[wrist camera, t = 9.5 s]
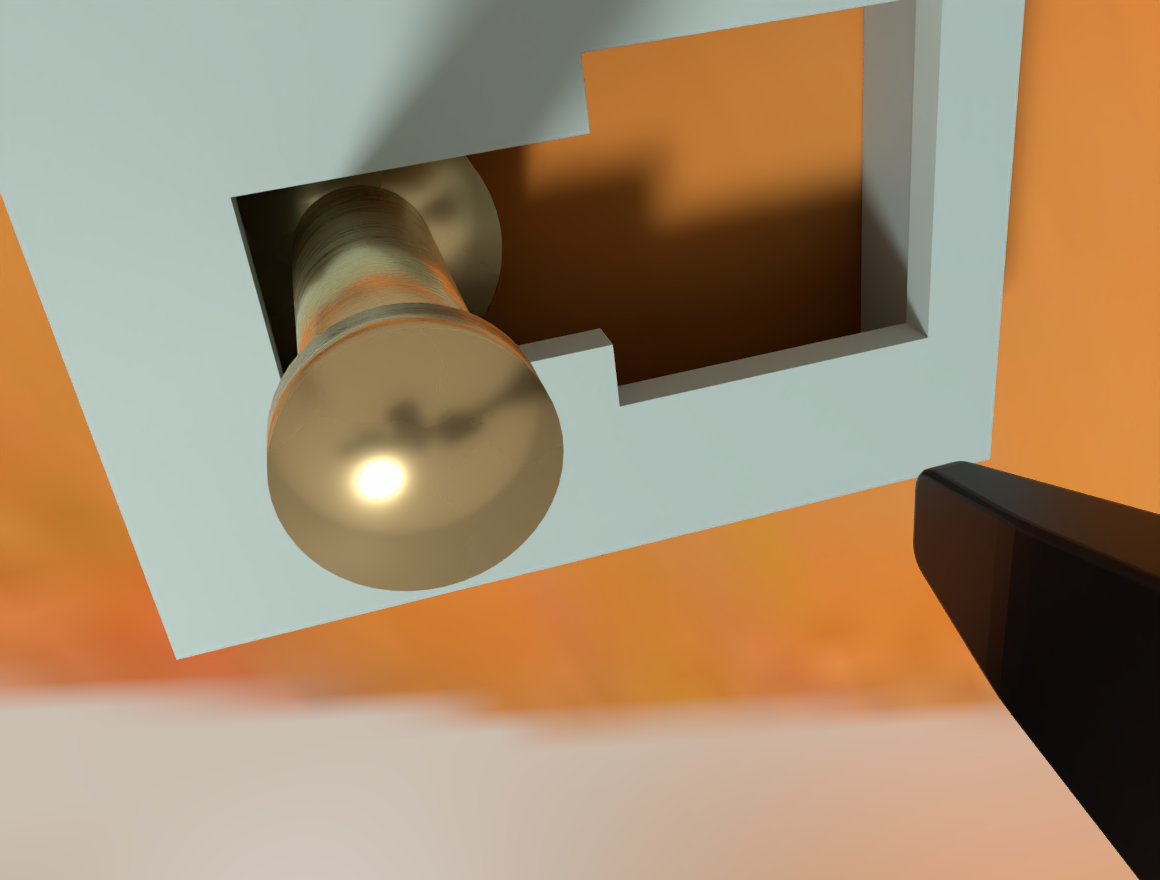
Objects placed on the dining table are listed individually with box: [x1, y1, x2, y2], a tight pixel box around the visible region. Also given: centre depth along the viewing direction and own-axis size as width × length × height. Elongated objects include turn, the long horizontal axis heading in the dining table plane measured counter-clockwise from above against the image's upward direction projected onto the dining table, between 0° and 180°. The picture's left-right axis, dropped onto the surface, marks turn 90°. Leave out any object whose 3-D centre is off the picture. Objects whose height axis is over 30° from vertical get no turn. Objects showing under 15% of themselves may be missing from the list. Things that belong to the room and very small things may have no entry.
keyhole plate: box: [0, 0, 1025, 659], centre depth 19 cm, size 16×12×3 cm
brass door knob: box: [235, 156, 564, 591], centre depth 16 cm, size 5×5×9 cm
